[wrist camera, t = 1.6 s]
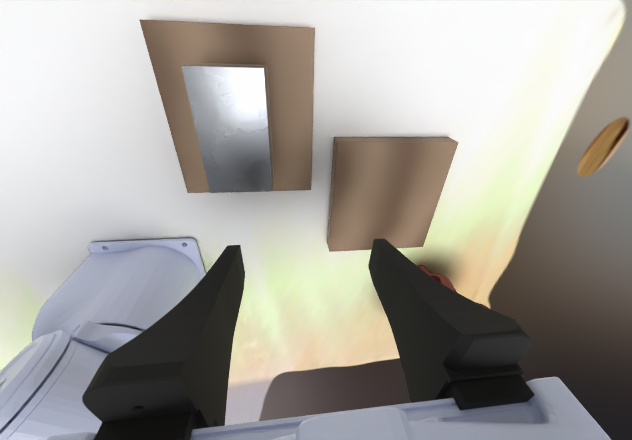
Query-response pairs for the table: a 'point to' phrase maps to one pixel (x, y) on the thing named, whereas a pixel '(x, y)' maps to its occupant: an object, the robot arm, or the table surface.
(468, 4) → the table surface
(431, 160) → the stand
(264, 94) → the block
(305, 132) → the stand
